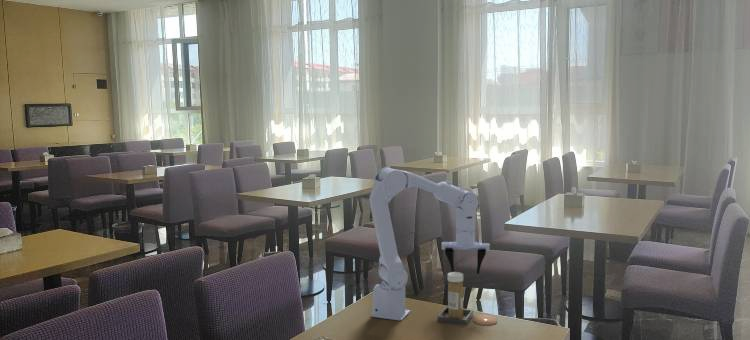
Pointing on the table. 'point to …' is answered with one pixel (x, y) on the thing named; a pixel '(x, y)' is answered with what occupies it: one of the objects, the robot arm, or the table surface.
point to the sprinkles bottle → (455, 295)
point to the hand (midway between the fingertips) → (465, 272)
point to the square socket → (455, 320)
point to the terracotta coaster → (485, 319)
